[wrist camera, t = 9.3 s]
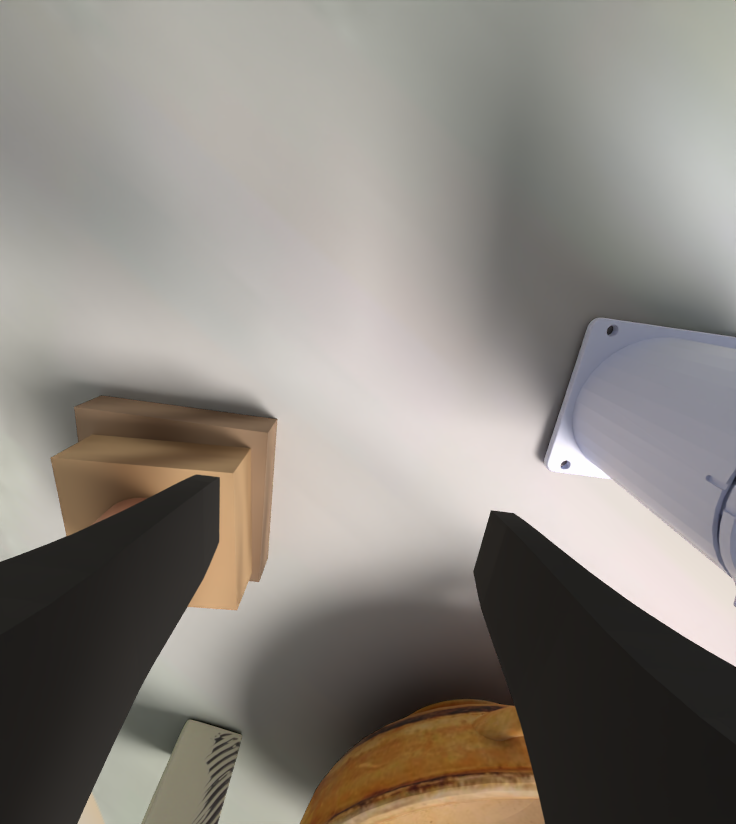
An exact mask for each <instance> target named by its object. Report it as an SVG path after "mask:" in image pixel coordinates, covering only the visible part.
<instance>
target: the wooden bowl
mask: <svg viewBox="0 0 736 824" xmlns="http://www.w3.org/2000/svg"><path fill="white" fill-rule="evenodd" d="M300 824H545V821H544V817H543V813H542V808H541V804H540V800H539V795H538V791H537V787H536V783H535V778H534V775H533V771H532V767H531V763H530V759H529V755H528V751H527V747H526V743H525V739H524V736H523V732H522V728H521V724H520V721H519V718H518V715H517V711H516V708H515V706H511V705H502V704H498V703H494V702H490V701H486V700H477V699H455V700H448V701H442V702H439V703H435V704H431V705H429V706H426V707H424V708H421V709H419V710H417V711H415V712H414V713H412V714H410V715H409V716H407V717H405V718H403V719H400V720H398V721H395V722H393V723H390V724H388V725H386V726H384V727H382V728H381V729H379V730H377V731H376V732H374V733H372V734H370V735H369V736H367V737H365V738H363V739H362V740H361V741H360V742H358V743H357V744H356V745H355V746H354V747H352V748H351V749H350V750H349V751H348V752H346V753H345V754H344V755H343V756H342V757H341V759H340V760H339V761H338V762H337V763H336V764H335V765H334V766H333V768H332V769H331V770H330V771H329V772H328V774H327V775H326V776H325V777H324V779H323V780H322V781H321V783H320V784H319V786H318V787H317V788H316V790H315V793H314V795H313V797H312V799H311V801H310V803H309V805H308V807H307V809H306V811H305V813H304V816H303V818H302V820H301V822H300Z"/></svg>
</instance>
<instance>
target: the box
mask: <svg viewBox="0 0 736 824" xmlns="http://www.w3.org/2000/svg"><path fill="white" fill-rule="evenodd" d="M241 740H242V735H241V734H237V733H234V732H231V731H228V730H224V729H221V728H218V727H215V726H212V725H208V724H205V723H202V722H199V721H194V720H187V722H186V724H185V725H184V727H183V729H182V731H181V733H180V736H179V738H178V740H177V742H176V745H175V747H174V749H173V752H172V754H171V756H170V759H169V761H168V763H167V766H166V768H165V770H164V772H163V775H162V777H161V779H160V781H159V784H158V786H157V788H156V791H155V793H154V795H153V797H152V800H151V802H150V804H149V807H148V809H147V812H146V814H145V816H144V819H143V821H142V823H141V824H218V821H219V818H220V814H221V810H222V806H223V803H224V800H225V796H226V792H227V789H228V786H229V782H230V779H231V775H232V772H233V768H234V765H235V761H236V758H237V754H238V751H239V747H240V743H241Z"/></svg>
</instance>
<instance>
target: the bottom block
mask: <svg viewBox="0 0 736 824" xmlns="http://www.w3.org/2000/svg"><path fill="white" fill-rule="evenodd" d="M74 410H75V418H76V427H77V435H78V442H80V441H82V440H83V439H85V438H87V437H89V436H91V435H92V434H93V435H105V436H117V437H128V438H140V439H151V440H163V441H175V442H186V443H198V444H209V445H221V446H232V447H244V448H251V520H252V574H251V576H250V579H249V581H255V582H259V581H260V578H261V575H262V573H263V570H264V567H265V564H266V562H267V559H268V548H269V533H270V518H271V504H272V489H273V474H274V459H275V445H276V430H277V419H272V418H265V417H257V416H250V415H243V414H235V413H228V412H220V411H213V410H206V409H198V408H191V407H183V406H176V405H168V404H161V403H154V402H146V401H139V400H131V399H124V398H117V397H109V396H102V395H101V396H99V397H96V398H94V399H92V400H89V401H87V402H85V403H82V404H80V405H78V406H75V407H74Z"/></svg>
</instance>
